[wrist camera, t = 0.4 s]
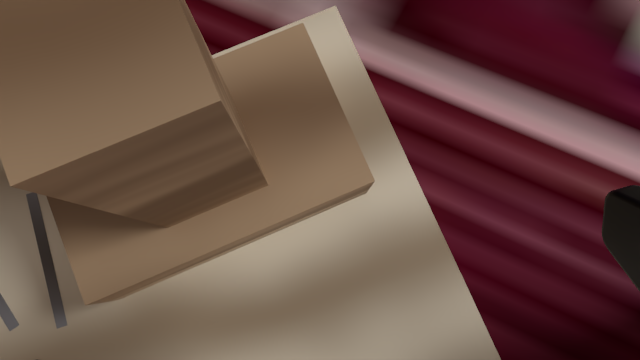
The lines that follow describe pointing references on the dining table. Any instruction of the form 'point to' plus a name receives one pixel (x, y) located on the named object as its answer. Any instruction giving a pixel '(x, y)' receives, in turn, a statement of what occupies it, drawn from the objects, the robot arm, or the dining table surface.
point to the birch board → (264, 270)
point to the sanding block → (165, 136)
